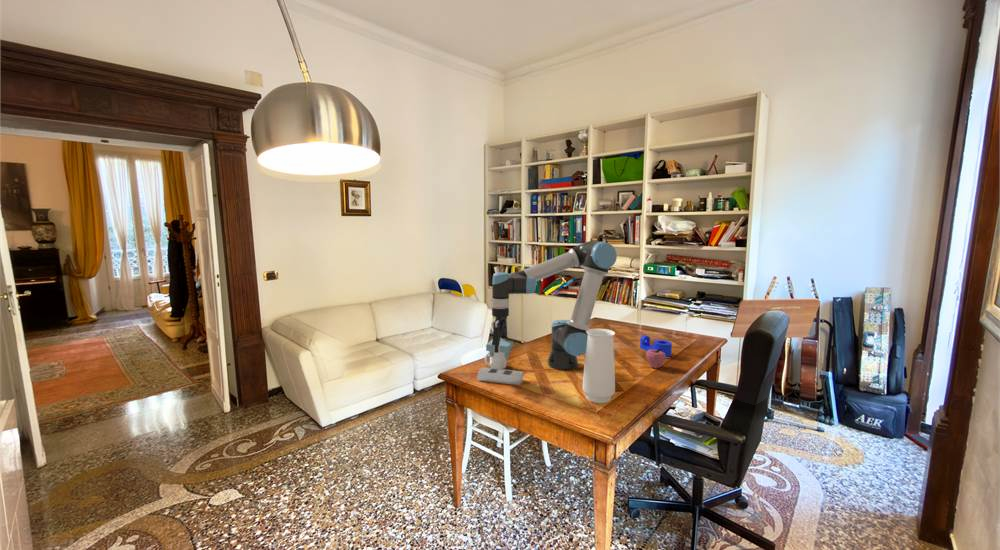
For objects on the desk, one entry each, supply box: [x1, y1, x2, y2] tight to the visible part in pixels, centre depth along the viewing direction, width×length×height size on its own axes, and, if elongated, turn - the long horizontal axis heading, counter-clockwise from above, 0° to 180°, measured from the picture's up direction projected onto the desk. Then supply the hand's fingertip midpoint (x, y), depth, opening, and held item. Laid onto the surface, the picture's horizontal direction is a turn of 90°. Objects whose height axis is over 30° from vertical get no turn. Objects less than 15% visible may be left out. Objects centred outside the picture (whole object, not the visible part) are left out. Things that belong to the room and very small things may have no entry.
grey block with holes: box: [477, 366, 524, 386], centre depth 183 cm, size 20×6×4 cm, turn 74°
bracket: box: [639, 334, 673, 357], centre depth 222 cm, size 20×9×8 cm, turn 20°
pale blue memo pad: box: [485, 338, 514, 359], centre depth 181 cm, size 10×9×6 cm
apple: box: [645, 349, 667, 369], centre depth 199 cm, size 10×9×10 cm
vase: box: [582, 327, 616, 404], centre depth 163 cm, size 13×13×28 cm
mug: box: [484, 351, 507, 370], centre depth 199 cm, size 12×8×10 cm
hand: (499, 355), depth 182 cm, fingers closed on pale blue memo pad, 9 cm apart
